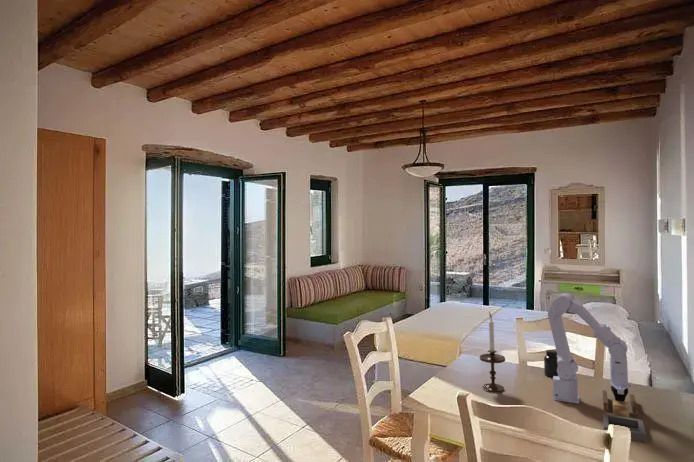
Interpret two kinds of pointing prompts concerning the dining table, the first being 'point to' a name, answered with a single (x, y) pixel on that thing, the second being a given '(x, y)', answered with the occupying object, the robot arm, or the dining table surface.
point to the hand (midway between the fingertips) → (620, 406)
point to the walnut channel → (632, 402)
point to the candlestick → (492, 361)
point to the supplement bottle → (550, 363)
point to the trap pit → (627, 425)
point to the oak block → (620, 408)
